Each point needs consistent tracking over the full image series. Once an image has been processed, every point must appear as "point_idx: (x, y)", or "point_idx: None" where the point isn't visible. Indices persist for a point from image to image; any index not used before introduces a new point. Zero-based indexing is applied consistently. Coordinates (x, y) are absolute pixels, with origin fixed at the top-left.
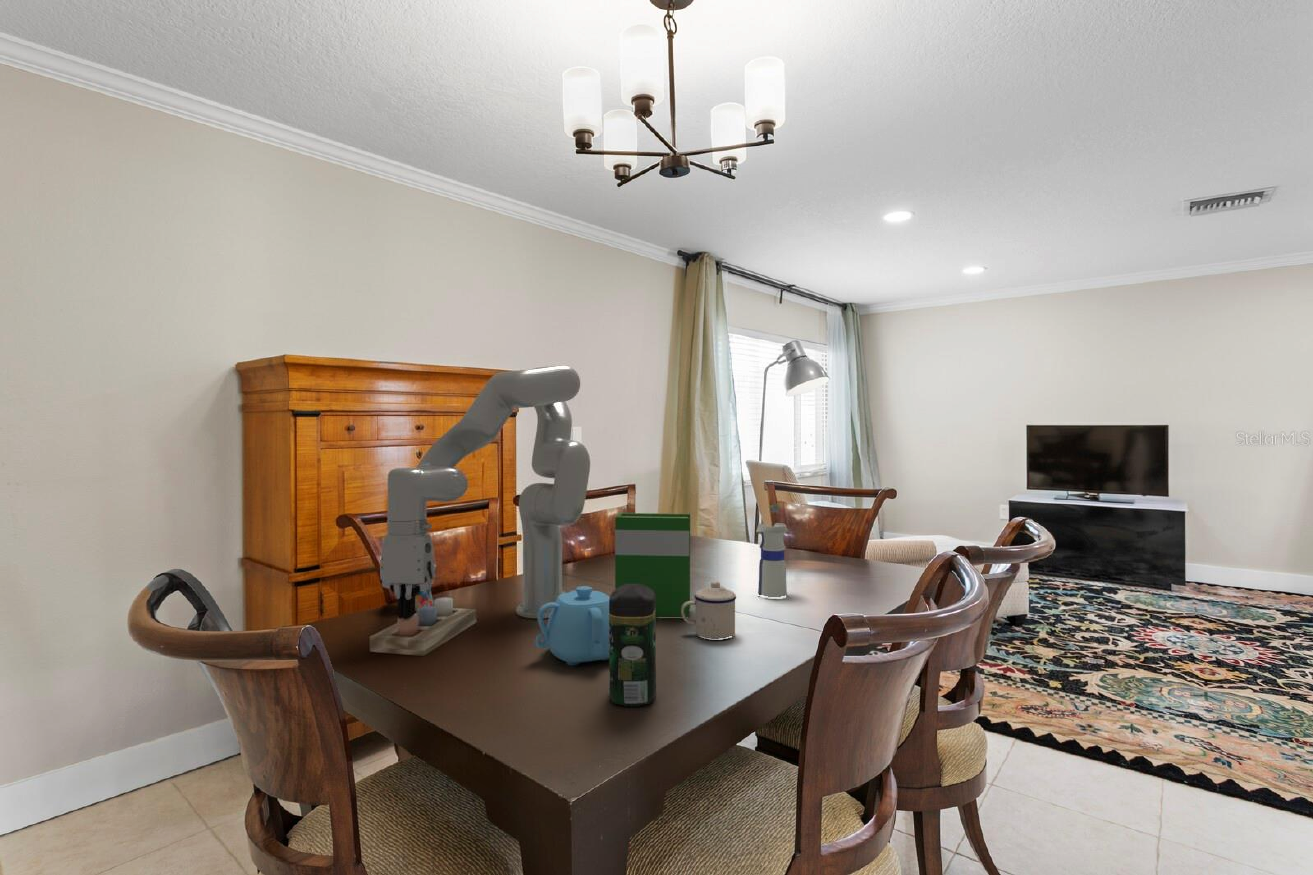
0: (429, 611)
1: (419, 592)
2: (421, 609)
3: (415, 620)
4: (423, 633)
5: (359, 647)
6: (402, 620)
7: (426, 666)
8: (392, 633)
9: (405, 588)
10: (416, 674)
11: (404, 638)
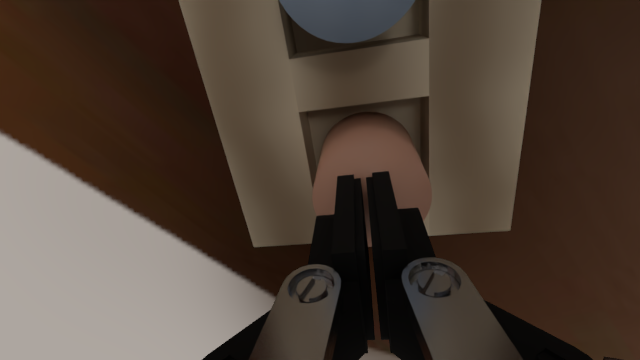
0: (409, 5)
1: (512, 316)
2: (325, 2)
3: (428, 200)
4: (455, 154)
5: (198, 191)
6: (370, 240)
7: (543, 261)
8: (308, 194)
9: (330, 349)
10: (540, 309)
11: None
